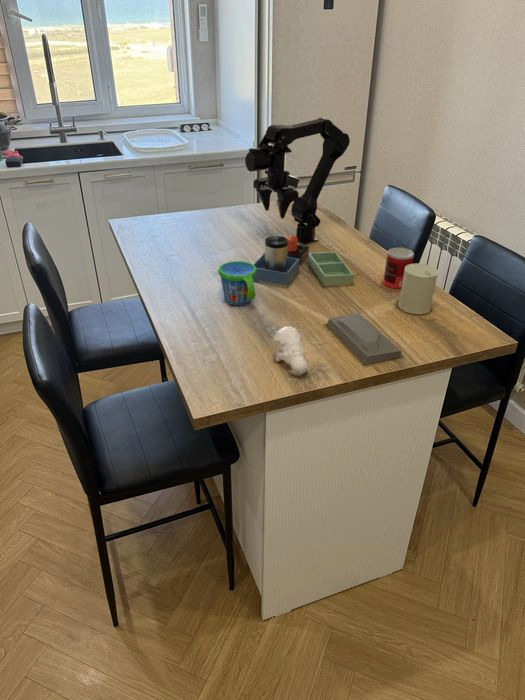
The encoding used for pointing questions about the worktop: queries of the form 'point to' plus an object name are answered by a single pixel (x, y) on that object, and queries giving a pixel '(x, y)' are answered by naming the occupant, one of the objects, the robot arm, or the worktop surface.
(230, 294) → the snack cup
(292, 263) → the basin
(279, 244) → the travel mug
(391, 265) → the canned food
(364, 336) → the soap mold
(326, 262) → the tray
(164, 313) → the worktop surface
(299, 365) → the white animal figurine
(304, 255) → the black square plate
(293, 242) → the tap knob
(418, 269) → the can
